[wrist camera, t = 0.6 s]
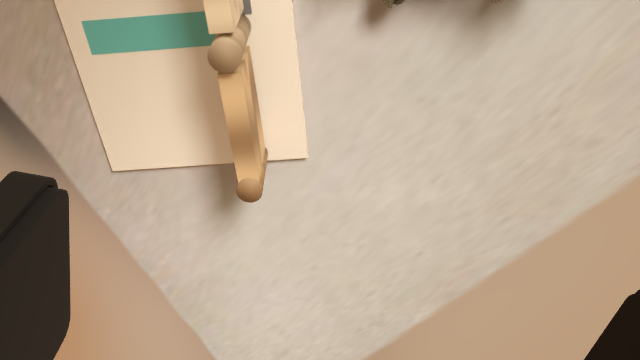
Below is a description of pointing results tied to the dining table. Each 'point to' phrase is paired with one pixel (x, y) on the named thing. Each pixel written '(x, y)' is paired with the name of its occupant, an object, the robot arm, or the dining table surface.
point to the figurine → (399, 0)
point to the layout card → (180, 80)
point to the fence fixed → (226, 33)
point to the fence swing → (244, 128)
